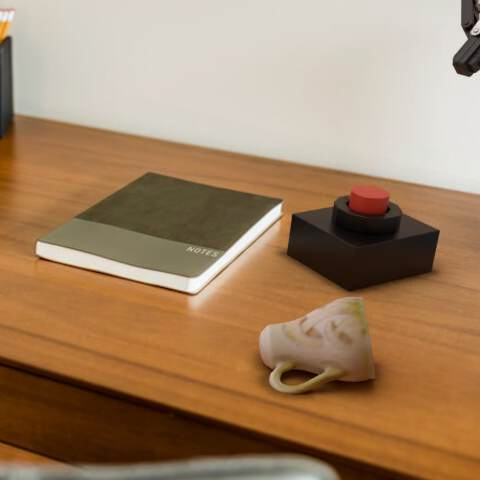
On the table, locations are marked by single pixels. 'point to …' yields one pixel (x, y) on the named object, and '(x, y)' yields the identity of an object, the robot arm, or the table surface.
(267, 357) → the mug
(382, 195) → the button
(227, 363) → the table surface
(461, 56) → the robot arm
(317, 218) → the console
